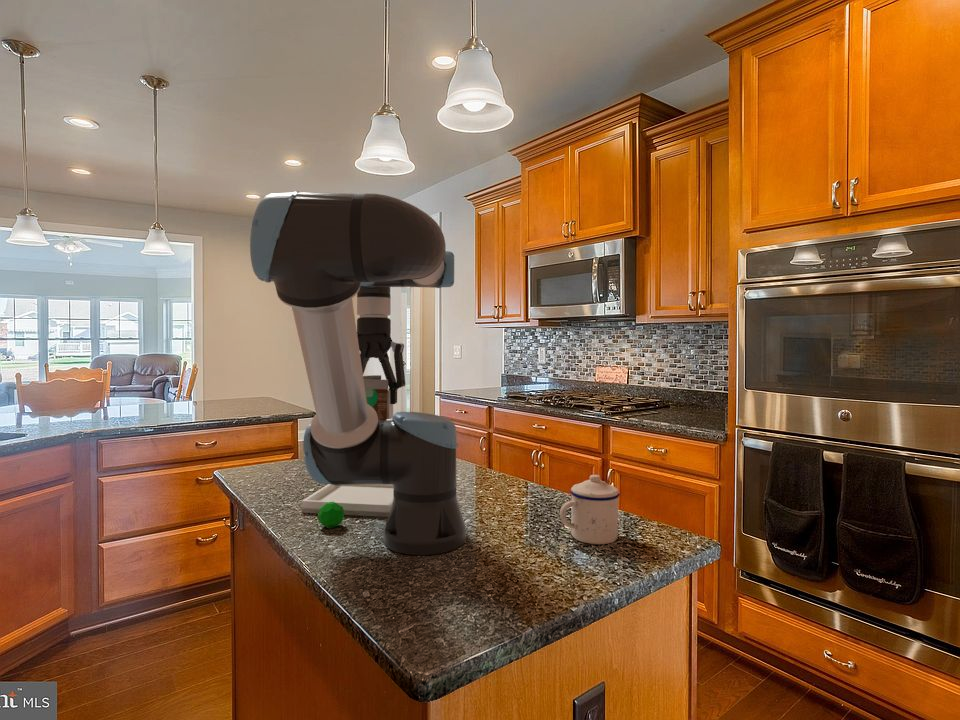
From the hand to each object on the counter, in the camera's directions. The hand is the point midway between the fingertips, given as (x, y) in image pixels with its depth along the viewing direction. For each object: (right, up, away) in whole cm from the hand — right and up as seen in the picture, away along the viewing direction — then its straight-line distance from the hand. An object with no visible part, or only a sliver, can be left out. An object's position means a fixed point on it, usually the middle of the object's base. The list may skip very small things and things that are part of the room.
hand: (374, 417), depth 123 cm
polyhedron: (-5, -20, -16) cm, 26 cm away
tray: (-3, -19, 0) cm, 19 cm away
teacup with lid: (+45, -21, -21) cm, 54 cm away
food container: (-1, -1, 0) cm, 1 cm away
